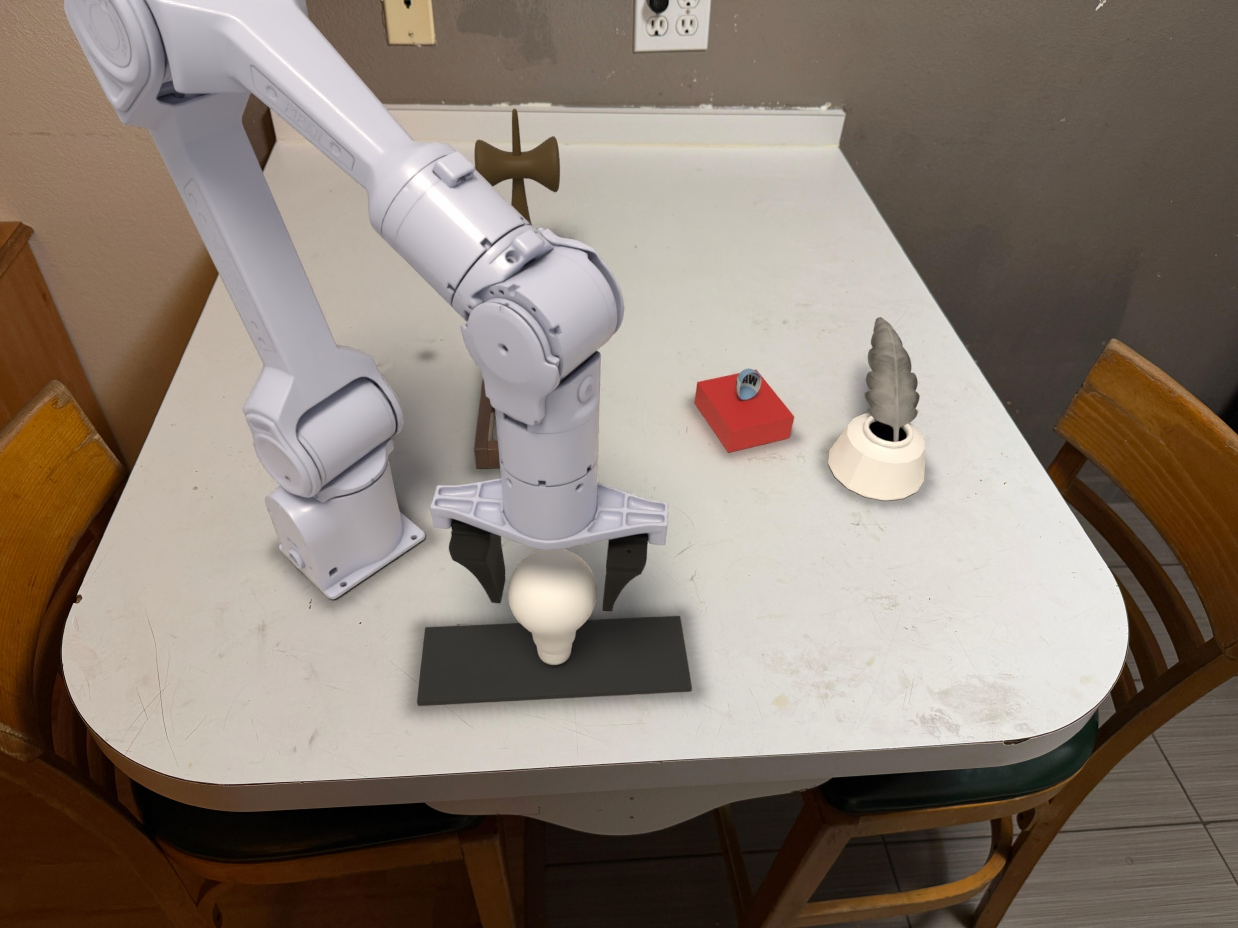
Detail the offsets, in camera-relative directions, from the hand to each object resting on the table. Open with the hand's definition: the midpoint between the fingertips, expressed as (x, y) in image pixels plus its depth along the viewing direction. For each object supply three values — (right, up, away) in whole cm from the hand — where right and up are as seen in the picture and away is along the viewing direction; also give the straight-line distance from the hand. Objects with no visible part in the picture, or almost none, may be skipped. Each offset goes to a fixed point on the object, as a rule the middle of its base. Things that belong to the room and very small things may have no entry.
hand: (553, 595), depth 56 cm
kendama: (-8, +33, +46) cm, 58 cm away
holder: (-5, +15, +27) cm, 31 cm away
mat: (0, -6, +6) cm, 8 cm away
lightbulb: (0, -6, +5) cm, 8 cm away
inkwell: (+29, +12, +26) cm, 41 cm away
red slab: (+17, +13, +27) cm, 35 cm away
